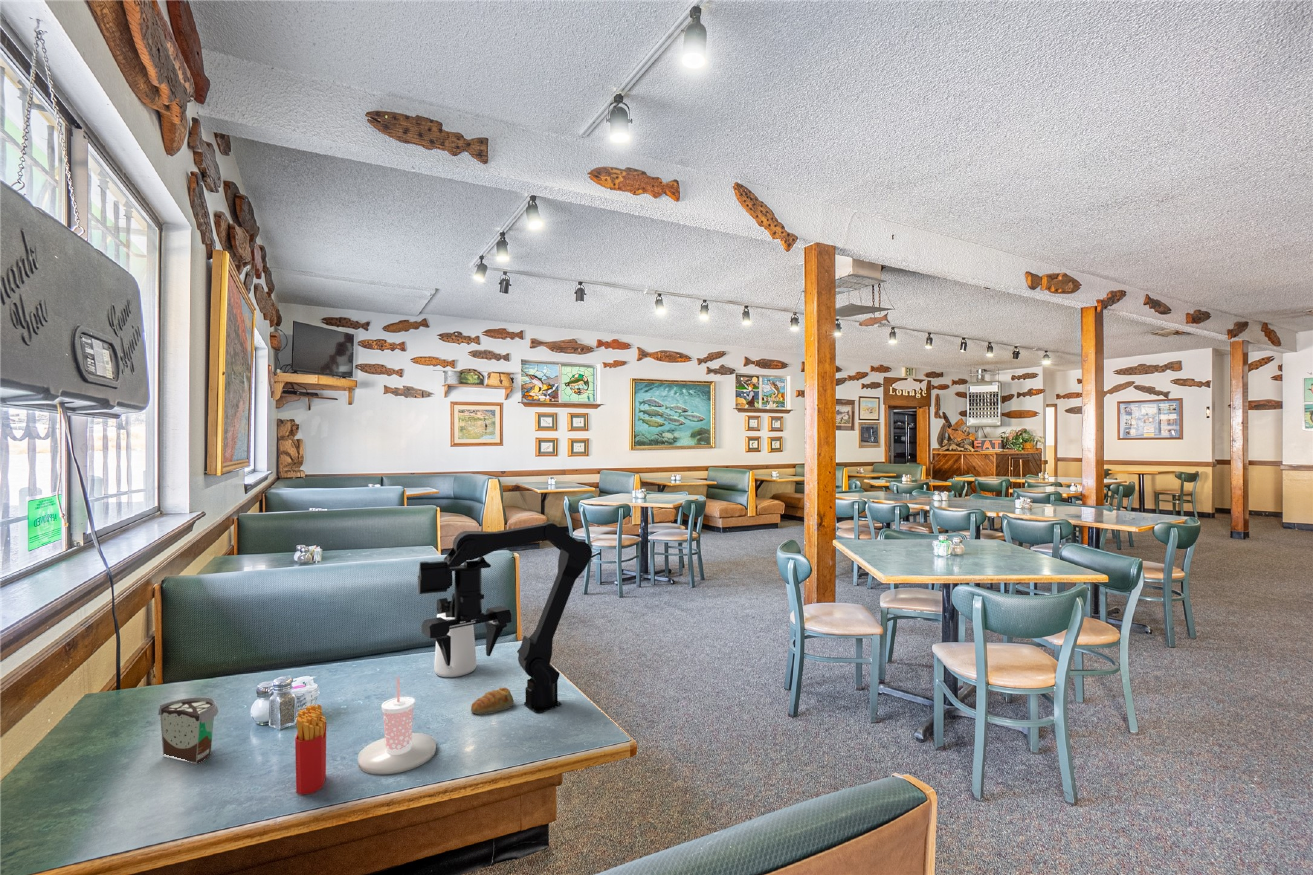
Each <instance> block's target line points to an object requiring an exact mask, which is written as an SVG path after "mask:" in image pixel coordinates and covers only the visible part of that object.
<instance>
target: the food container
mask: <svg viewBox="0 0 1313 875" xmlns="http://www.w3.org/2000/svg"><path fill="white" fill-rule="evenodd" d="M217 714H219V709H218V705H217V702H216V701H215V699H213V698H212V697H206V696H196V697H186V698H180V699H177V700H172V701H169V702H165V703H162V704H159V707H158V713H157V715H158V716H159V718H160V729H161V730H160V731H161V732H160V733H161V745H162V756H163V755H164V754H166V755H169V756H174V757H177V758H181V759H185V760H187V761H189V762H192V763H191V764H193V763H195V764H194V765H198V764H200V763H202V762H204V761H205V760H206V759H208V758H209V757H208V756H210V755H211V754H212V752H211V751H212V744H213V741H212V740H213V732H214V731H213V730H214V723H215V722H214V721H215V717H216V716H217ZM210 753H211V754H210ZM207 757H208V758H207ZM204 759H205V760H204ZM203 760H204V761H203ZM201 761H202V762H201ZM199 762H200V763H199ZM197 763H198V764H197Z"/></svg>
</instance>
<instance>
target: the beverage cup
mask: <svg viewBox="0 0 1313 875" xmlns="http://www.w3.org/2000/svg"><path fill="white" fill-rule="evenodd" d="M400 683H401V682H400V676H396V697H393V698H390V699H387V700H385V701H384V702H383V703H381V711H382V716H383V728H384V729H383V730H384V738H385V745H386V753H387V754H390V755H398V754H402V753H405V752H407V751H409V750H410V749H411V742H412V733H413V722H414V721H413V720H414V707H415V706H416V705H415V704H416V699H415V698H414V697H411V696H401V695H400V694H401V693H400V691H401V690H400Z"/></svg>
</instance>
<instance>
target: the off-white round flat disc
mask: <svg viewBox="0 0 1313 875" xmlns="http://www.w3.org/2000/svg"><path fill="white" fill-rule="evenodd" d="M436 752H437V741H436V739H435V738H434V737H433V736H431V735H428V734H425V733H421V732H412V742H411V749H410V750H409V751H407V752H405V753H402V754H398V755H390V754H387V753H386V745H385V737H382V738H380V739H378V740H375V741H373V742H371V743H369V744H368V745H366V746H365V747H364V748H362V749H361V750H360V752H359V753H358V756H357V757H358V758H357V765H358V768H359V770H361V771H363V773H367V774H371V775H394V774H399V773H403V772H407V771H410V770H412V769H416V768H418V767H420V766H421V765H423V764H424V765H425V763H428V761H430V760H431V759H432V758H433V757H434V756H435V754H436Z"/></svg>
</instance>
